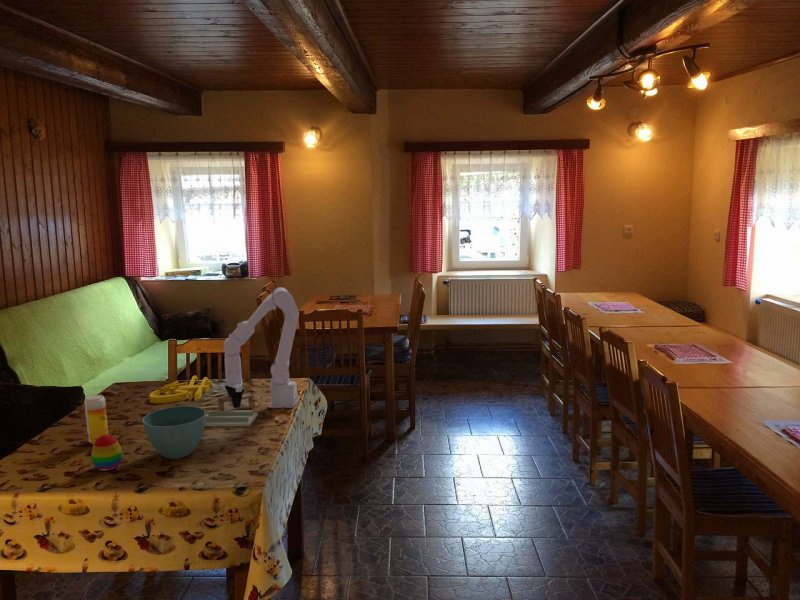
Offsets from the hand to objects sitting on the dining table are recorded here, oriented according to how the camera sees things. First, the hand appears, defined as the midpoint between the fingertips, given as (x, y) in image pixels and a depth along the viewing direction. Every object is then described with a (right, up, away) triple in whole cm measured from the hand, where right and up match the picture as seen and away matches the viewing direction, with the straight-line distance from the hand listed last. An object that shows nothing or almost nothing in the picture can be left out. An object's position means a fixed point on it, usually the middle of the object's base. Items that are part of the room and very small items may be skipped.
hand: (235, 405), depth 240 cm
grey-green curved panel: (+1, -3, -12) cm, 12 cm away
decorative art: (-27, +1, +24) cm, 36 cm away
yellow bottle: (-37, -7, -29) cm, 48 cm away
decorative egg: (-25, -10, -49) cm, 56 cm away
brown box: (0, -2, 0) cm, 2 cm away
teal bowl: (-8, -8, -40) cm, 41 cm away
